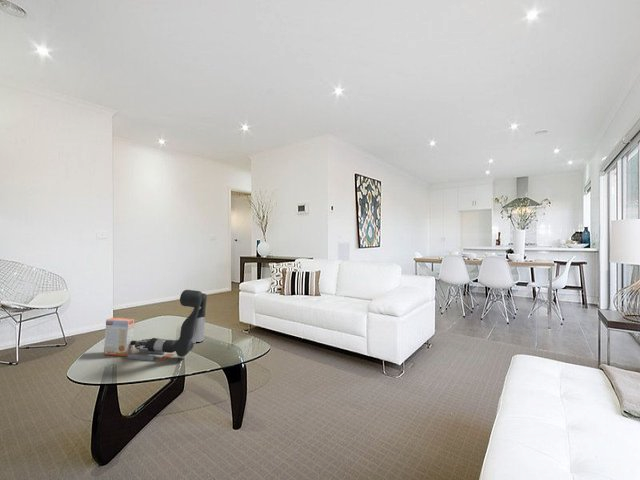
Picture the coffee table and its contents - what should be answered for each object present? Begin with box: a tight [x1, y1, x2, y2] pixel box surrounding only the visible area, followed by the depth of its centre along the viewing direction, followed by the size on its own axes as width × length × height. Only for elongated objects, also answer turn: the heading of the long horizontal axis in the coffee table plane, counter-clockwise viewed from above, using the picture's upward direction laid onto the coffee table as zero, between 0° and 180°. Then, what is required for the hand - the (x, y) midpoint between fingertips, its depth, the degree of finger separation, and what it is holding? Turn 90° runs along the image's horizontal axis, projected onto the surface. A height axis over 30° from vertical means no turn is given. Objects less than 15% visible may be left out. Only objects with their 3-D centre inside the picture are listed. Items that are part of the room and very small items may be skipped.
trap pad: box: [155, 353, 175, 362], centre depth 177 cm, size 11×4×1 cm, turn 174°
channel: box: [126, 348, 166, 361], centre depth 178 cm, size 11×16×2 cm, turn 84°
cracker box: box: [103, 317, 135, 357], centre depth 179 cm, size 14×6×21 cm, turn 85°
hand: (131, 342), depth 179 cm, fingers closed
